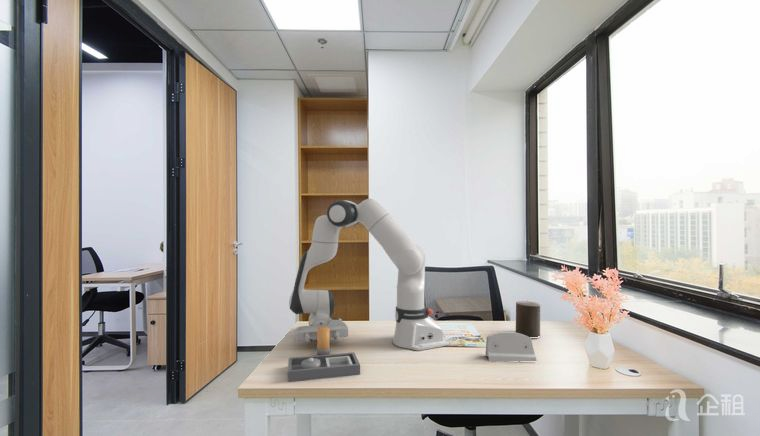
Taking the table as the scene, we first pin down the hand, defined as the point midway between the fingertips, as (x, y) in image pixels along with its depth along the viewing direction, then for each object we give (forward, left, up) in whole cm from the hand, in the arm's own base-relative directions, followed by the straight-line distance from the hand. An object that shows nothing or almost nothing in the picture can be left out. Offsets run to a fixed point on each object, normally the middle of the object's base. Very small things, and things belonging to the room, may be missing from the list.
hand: (323, 338), depth 126 cm
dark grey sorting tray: (+1, +15, -6) cm, 16 cm away
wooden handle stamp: (0, +2, -6) cm, 6 cm away
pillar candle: (-87, -1, -6) cm, 87 cm away
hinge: (-64, +19, -6) cm, 67 cm away
